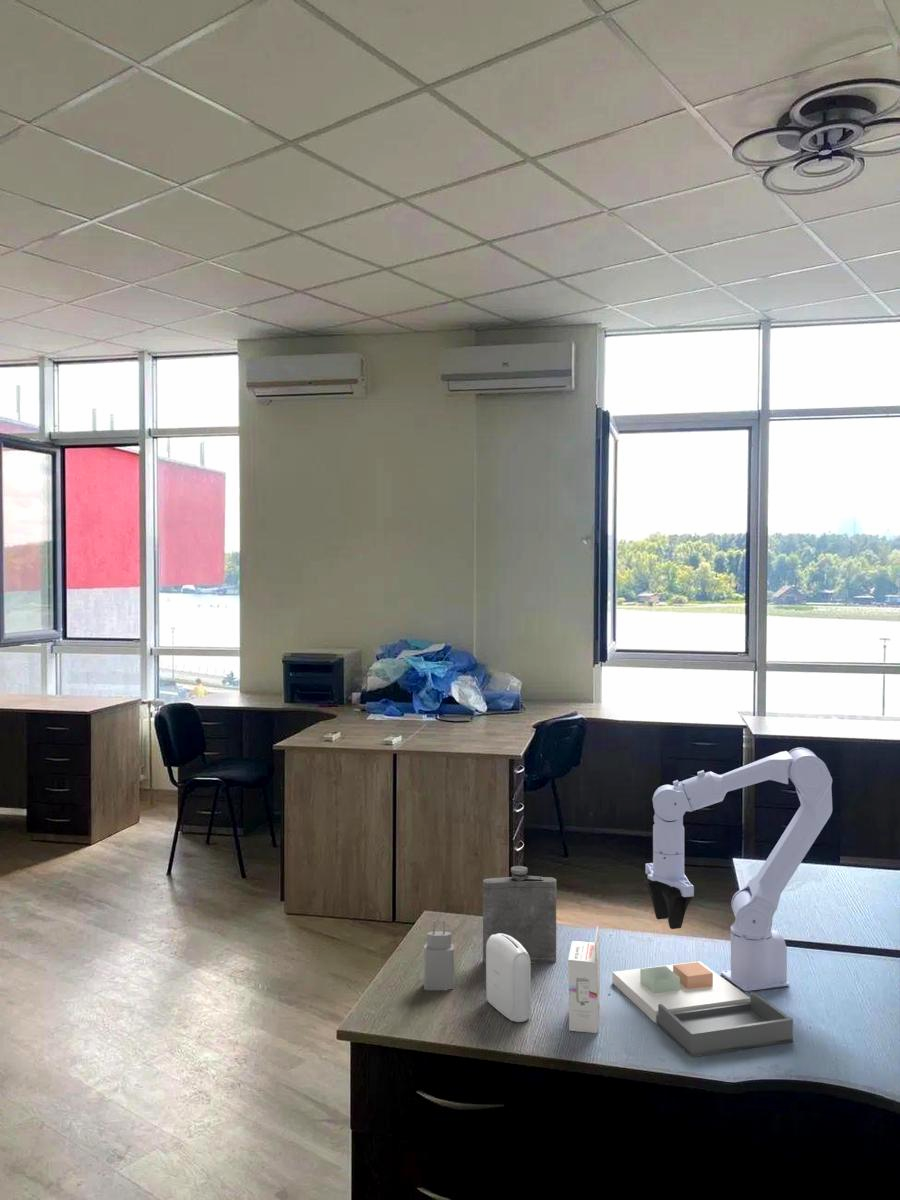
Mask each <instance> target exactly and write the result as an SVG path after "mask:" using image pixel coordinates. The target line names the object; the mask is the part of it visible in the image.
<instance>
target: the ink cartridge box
mask: <svg viewBox="0 0 900 1200" xmlns="http://www.w3.org/2000/svg"><path fill="white" fill-rule="evenodd" d="M595 930H596V932H595V938H594V941H581V940H572V941H571V943H570V947H569V952H568V959H567V963H568V1017H569V1018H568V1023H569V1025H568V1027H569V1028H568V1031H569V1032H579V1033H589V1034H598V1033H599V1022H600V1009H601V1007H600V1001H601V1000H600V999H601V998H600V997H601V996H600V993H601V992H600V988H601V981H600V980H601V977H600V975H601V974H600V973H601V972H600V971H601V967H600V965H601V963H600V962H601V957H600V956H601V955H600V954H601V942H600V931H599V926H598V925H597V926H596V929H595Z"/></svg>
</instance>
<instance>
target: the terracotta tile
mask: <svg viewBox="0 0 900 1200" xmlns="http://www.w3.org/2000/svg"><path fill="white" fill-rule="evenodd" d="M693 962H694V963H690V962H685V963H686V964H681V963H677V964H678V965H673V964H672V965H673V972H674V973H675V974H676V975H678V976H679V977H680V983H681V984H682V985H683V986H684V987H686V988H687V989H692V988H699V987H707V986H713V973H712V972H710V971H709V970H708V969H706V968H705V967H704V966H702V965H701V964H700V963H698V961H693Z"/></svg>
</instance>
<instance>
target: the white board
mask: <svg viewBox="0 0 900 1200" xmlns="http://www.w3.org/2000/svg"><path fill="white" fill-rule="evenodd" d="M694 962H695V961H692V962H689V963H694ZM697 962H698V963H700V964H701V965H702V966H704V967H705V968H706V969H708V970H709V971H710V972H712V973H713V986H707V987H699V988H692V989H687V988H686V987H684V986H683V985H682V984H681V983H680V990H676V991H669V992H661V993H653V992H652V991H651V990H650V989H649V988H647V987H646V986H645V985H644V984H643V983H642V982H641V981H640V969H645V968H646V967H642V968H633V969H632V968H631V969H625V970H624V969H623V970H616V971H612V984H613V985H614V986H615V987H616V988H617V989H618V990H620V991H621V992H622V994H624V995H625V996H626V997H627V998H628V999H629V1000H630V1001H631V1002H632V1003H633V1004H634V1005H635V1006H636V1007H638V1008H639V1009H640V1010H641V1011H642V1012H643V1013H644V1014H645V1015H646V1016H647V1017H648V1018H649V1019H650V1020H652V1021H653V1022H654V1023H655V1024H656V1015H658V1004H662V1005H663V1006H664V1007H666V1008H667V1009H668V1010H669V1011H670V1012H671V1013H674V1012H681V1011H688V1010H696V1009H703V1008H710V1007H717V1006H725V1005H732V1004H739V1003H746V1002H750V996H748V994H747V995H746V993H744V992H743V991H741V990H740V988H738V987H736V986H734V985H733V984H732V983H731V982H729V980H726V979H725V978H724V977H722V976H720V975H719V974H718V973H717V972H716V971H714V970H712V969H711V968H710V967H709V966H707V965H706V964H704V963H703V962H702V961H700V960H699V961H697ZM686 963H687V962H684V963H683V962H682V963H680V964H686ZM678 964H679V963H673V964H668V965H667V964H666V965H664V966H666V967H667V968H669V969H670V970H671V971H672V972H673V965H678ZM661 966H662V965H658V966H656V967H661ZM653 967H654V966H650V967H648V968H653Z"/></svg>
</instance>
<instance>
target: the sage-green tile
mask: <svg viewBox="0 0 900 1200" xmlns="http://www.w3.org/2000/svg"><path fill="white" fill-rule="evenodd" d="M660 966H661V967H657V966H652V967H653V968H649V967H644V968H645V969H640V968H639V969H640V981H641V982H642V983H643V984H644V985H645V986H646V987H647V988H649V989H650V990H651V991H652V992H653V993H661V992H669V991H676V990H680V977H679V976H678V975H676V974H675V973H674V972H672V971H671V970H670V969H669V968H667V967H666V966H665V965H660Z"/></svg>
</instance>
